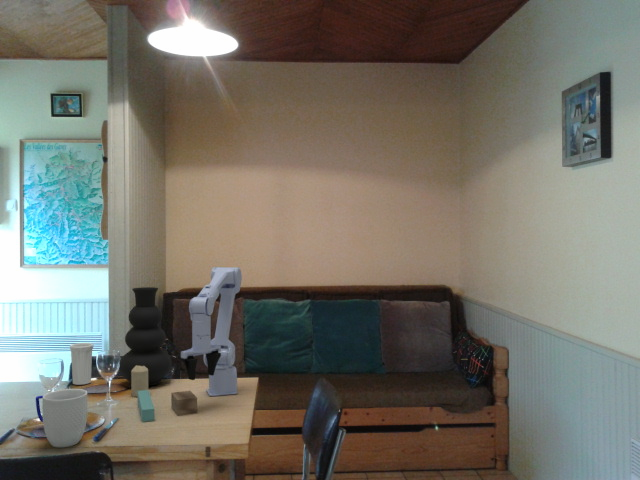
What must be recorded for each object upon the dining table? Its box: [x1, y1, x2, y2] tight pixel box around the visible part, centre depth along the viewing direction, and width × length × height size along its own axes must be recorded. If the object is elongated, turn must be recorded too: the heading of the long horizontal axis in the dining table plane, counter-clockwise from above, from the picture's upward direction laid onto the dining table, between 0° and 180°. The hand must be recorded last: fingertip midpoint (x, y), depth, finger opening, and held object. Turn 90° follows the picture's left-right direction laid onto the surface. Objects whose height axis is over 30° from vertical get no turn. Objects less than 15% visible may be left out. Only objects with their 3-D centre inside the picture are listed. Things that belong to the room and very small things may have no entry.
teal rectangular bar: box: [137, 389, 155, 423], centre depth 184 cm, size 4×22×4 cm, turn 21°
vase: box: [118, 286, 172, 387], centre depth 217 cm, size 18×18×35 cm
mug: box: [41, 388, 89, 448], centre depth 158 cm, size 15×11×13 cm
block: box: [170, 390, 198, 417], centre depth 185 cm, size 6×9×5 cm, turn 26°
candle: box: [130, 365, 149, 398], centre depth 202 cm, size 6×6×10 cm
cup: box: [69, 342, 94, 386], centre depth 217 cm, size 8×8×14 cm
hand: (201, 377), depth 188 cm, fingers open, 7 cm apart
